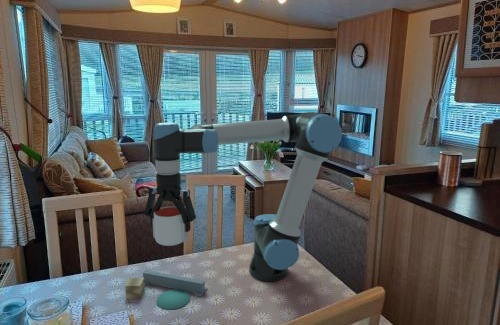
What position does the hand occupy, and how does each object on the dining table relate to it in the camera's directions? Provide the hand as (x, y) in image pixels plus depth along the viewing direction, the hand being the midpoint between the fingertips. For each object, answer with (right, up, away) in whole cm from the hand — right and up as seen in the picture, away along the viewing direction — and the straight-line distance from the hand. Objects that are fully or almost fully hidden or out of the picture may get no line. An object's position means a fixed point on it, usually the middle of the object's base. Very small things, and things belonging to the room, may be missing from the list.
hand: (170, 238), depth 113 cm
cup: (0, -1, 0) cm, 1 cm away
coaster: (0, -22, +4) cm, 22 cm away
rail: (-2, -20, +12) cm, 24 cm away
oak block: (-14, -21, +7) cm, 26 cm away
